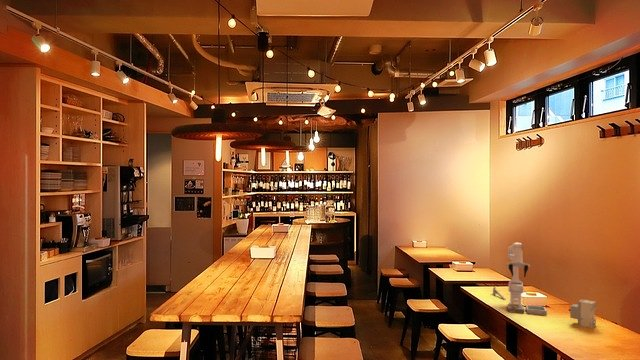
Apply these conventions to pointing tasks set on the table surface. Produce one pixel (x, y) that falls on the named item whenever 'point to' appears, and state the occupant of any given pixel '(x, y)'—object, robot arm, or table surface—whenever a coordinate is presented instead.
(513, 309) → the fuse holder
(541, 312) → the parts tray
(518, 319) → the table surface
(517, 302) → the fuse
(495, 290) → the caliper
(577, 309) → the circuit breaker
